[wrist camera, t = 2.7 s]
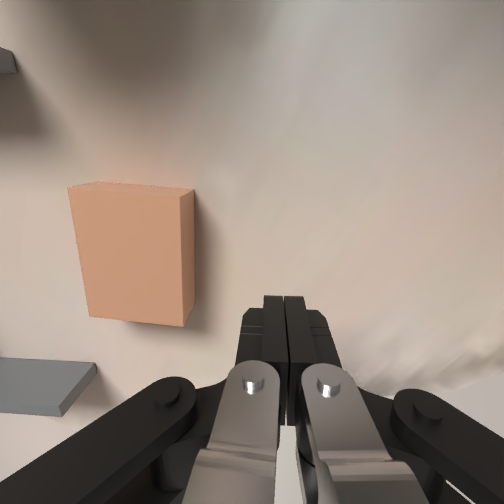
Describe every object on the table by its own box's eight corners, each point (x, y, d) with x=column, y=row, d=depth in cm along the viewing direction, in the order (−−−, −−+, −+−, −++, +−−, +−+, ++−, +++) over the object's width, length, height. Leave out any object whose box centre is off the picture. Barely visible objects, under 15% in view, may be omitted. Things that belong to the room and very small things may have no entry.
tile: (195, 188, 17) (179, 197, 14) (196, 301, 20) (182, 326, 17) (101, 180, 17) (67, 187, 15) (115, 292, 20) (89, 316, 17)
